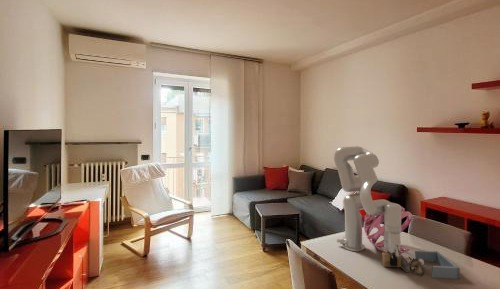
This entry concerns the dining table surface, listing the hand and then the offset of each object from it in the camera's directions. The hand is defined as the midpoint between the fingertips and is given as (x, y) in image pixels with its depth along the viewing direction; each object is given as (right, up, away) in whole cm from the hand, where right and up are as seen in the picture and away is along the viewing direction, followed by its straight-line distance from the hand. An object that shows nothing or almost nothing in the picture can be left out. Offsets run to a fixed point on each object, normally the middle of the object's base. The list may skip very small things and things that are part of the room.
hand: (392, 263), depth 134 cm
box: (+20, -2, -2) cm, 20 cm away
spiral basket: (+8, -1, +21) cm, 23 cm away
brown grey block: (0, -1, 0) cm, 1 cm away
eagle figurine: (+10, -2, -4) cm, 11 cm away
